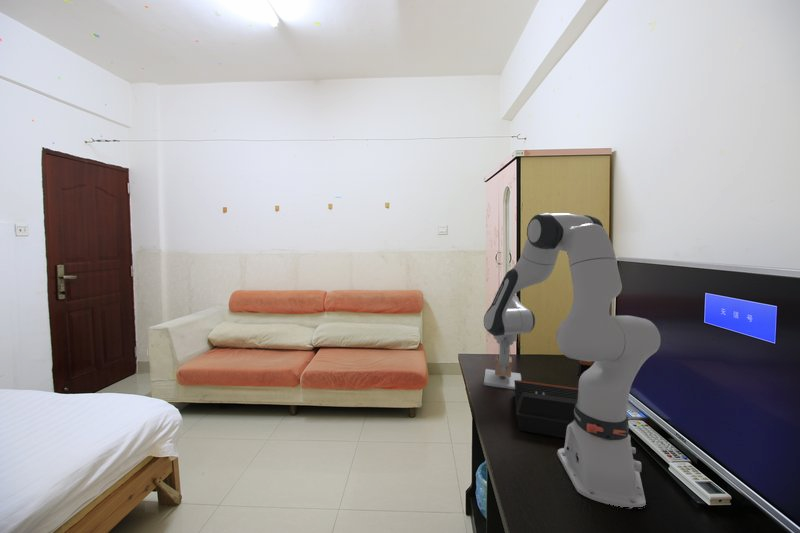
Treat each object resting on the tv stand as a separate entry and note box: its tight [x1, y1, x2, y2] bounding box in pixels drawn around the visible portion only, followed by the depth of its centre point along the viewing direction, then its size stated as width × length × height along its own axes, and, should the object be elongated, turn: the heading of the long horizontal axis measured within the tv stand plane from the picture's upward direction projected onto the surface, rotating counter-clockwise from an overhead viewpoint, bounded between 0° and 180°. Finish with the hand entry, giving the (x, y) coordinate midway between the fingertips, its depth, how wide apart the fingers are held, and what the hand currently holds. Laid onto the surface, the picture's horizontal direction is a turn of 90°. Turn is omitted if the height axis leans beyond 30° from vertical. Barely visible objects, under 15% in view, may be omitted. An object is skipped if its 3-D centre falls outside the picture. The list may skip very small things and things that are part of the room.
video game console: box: [514, 380, 578, 439], centre depth 112 cm, size 28×25×10 cm
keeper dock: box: [483, 368, 522, 391], centre depth 140 cm, size 14×14×8 cm
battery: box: [577, 360, 595, 378], centre depth 145 cm, size 4×7×10 cm, turn 75°
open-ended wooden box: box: [494, 354, 513, 377], centre depth 140 cm, size 6×6×6 cm
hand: (503, 368), depth 140 cm, fingers closed on open-ended wooden box, 6 cm apart
